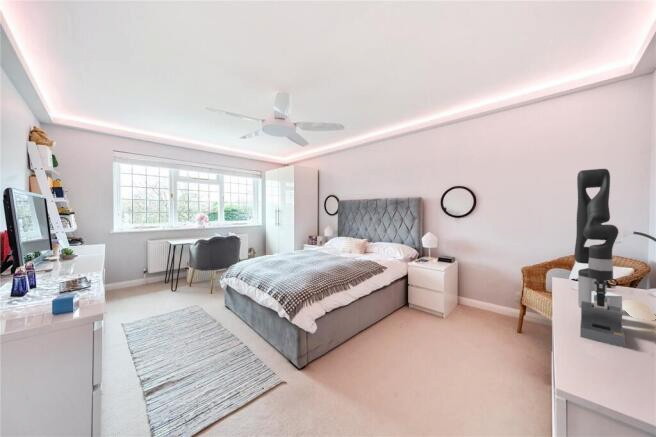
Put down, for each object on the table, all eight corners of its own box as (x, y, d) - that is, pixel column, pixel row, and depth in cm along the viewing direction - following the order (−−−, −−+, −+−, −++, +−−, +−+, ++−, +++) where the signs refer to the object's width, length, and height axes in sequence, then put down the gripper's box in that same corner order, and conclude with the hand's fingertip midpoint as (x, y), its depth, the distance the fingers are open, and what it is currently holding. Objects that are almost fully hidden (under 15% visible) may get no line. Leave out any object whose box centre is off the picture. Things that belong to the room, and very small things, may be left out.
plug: (593, 311, 114) (593, 294, 114) (609, 314, 111) (609, 296, 110) (594, 313, 112) (594, 296, 112) (609, 316, 109) (609, 298, 108)
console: (581, 319, 120) (581, 301, 119) (620, 327, 111) (619, 307, 111) (580, 336, 103) (580, 315, 103) (625, 347, 94) (624, 324, 94)
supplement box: (623, 322, 115) (623, 296, 115) (604, 321, 116) (604, 295, 116) (608, 316, 122) (608, 291, 122) (590, 315, 124) (590, 290, 123)
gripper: (588, 264, 119) (588, 297, 119) (588, 269, 109) (588, 305, 109) (612, 266, 113) (612, 301, 114) (614, 272, 104) (614, 310, 104)
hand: (600, 303), depth 112 cm, fingers open, 8 cm apart
